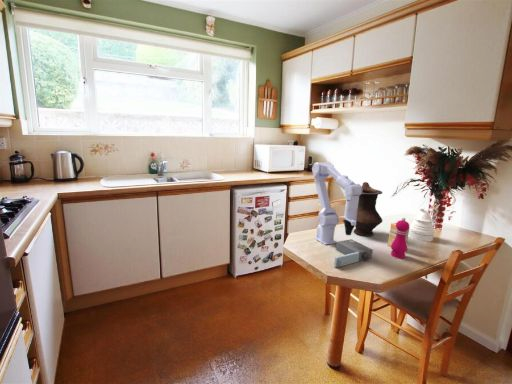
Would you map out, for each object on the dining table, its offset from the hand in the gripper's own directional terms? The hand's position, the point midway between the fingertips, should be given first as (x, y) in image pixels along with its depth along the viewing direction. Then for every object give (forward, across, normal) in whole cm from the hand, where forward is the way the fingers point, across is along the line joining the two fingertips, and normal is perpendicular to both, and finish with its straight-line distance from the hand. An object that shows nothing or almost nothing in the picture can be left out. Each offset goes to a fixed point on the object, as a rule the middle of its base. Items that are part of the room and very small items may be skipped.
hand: (348, 234), depth 144 cm
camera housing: (+9, +2, +3) cm, 10 cm away
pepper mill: (+10, 0, +26) cm, 27 cm away
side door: (+9, +15, -3) cm, 18 cm away
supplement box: (+10, -10, +29) cm, 32 cm away
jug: (+10, -31, +18) cm, 37 cm away
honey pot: (+10, -30, +51) cm, 60 cm away
